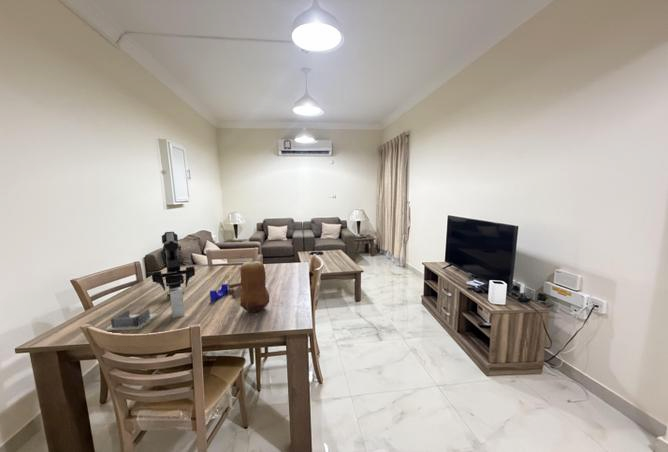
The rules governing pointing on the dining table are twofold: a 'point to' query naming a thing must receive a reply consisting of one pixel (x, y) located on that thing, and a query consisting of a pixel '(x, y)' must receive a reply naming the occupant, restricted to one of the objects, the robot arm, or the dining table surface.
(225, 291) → the cable clip
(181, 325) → the dining table surface
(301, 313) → the dining table surface
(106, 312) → the dining table surface
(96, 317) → the dining table surface
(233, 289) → the wooden block set
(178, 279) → the robot arm
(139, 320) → the keeper bracket
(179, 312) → the white upright block
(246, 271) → the butternut squash
